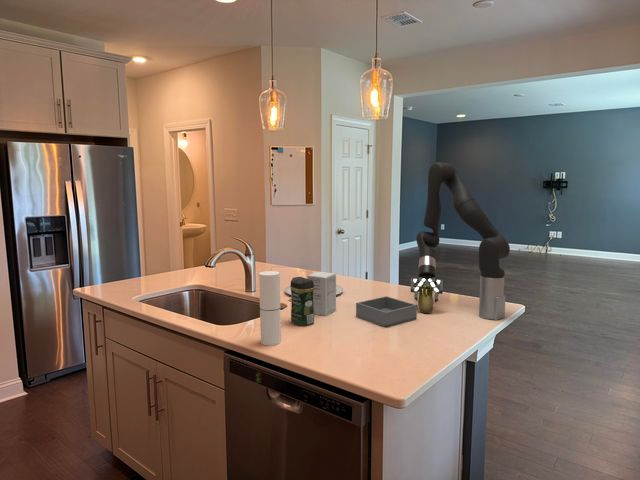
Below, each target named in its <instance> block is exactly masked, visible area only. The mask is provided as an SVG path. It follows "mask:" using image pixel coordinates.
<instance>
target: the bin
mask: <svg viewBox="0 0 640 480" xmlns="http://www.w3.org/2000/svg"><path fill="white" fill-rule="evenodd" d="M417 309H418V305H417V304H415V303H412V302H407V301H404V300H400V299H397V298H394V297H390V296H387V295H385V296H380V297H376V298H372V299H368V300H363V301H359V302H358V301H357V302H356V303H355V317H356V318H358V319H361V320H364V321H366V322H369V323H372V324H374V325H378V326H380V327H382V328H385V329H387V328H390V327H393V326H397V325H401V324H404V323H407V322H408V323H409V322H412V321H415V320H417V317H418V315H417V314H418V310H417Z"/></svg>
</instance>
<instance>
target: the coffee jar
mask: <svg viewBox="0 0 640 480" xmlns="http://www.w3.org/2000/svg"><path fill="white" fill-rule="evenodd" d="M289 286H290V287H291V295H290V296H291V303H290V304H291V305H290V308H291V309H290V321H291V322H292V323H293V324H295V325H298V326H311V325H312V324H314V323H315V314H314V306H313V291H314V282H313V281H312V280H310V279H308V278H307V277H303V276H295V277H292V279H291V280H290V285H289Z"/></svg>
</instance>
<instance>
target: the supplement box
mask: <svg viewBox="0 0 640 480" xmlns="http://www.w3.org/2000/svg"><path fill="white" fill-rule="evenodd" d="M307 279H310V280H312V281H313V282H314V291H313V306H314V315H318V316H322V317H328V315H330V314H332V313H334V312H336V311H337V295H336V285H337V274H336V273H335V272H334V273H333V272H328V271H327V272H325V271H316V272H314V273H311V274H307Z"/></svg>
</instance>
